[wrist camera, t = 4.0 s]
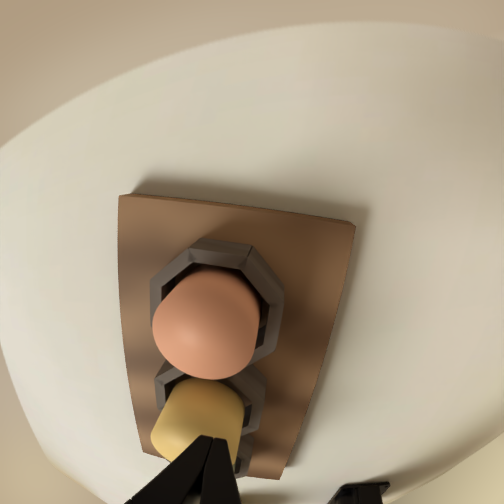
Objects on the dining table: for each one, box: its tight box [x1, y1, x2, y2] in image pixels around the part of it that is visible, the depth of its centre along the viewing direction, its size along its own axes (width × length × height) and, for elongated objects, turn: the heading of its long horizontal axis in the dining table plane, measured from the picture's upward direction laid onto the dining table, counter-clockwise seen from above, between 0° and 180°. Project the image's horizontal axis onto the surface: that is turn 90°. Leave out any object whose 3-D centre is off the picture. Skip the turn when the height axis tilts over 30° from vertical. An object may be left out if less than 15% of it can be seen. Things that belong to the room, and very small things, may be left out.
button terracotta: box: [152, 264, 262, 379], centre depth 15 cm, size 5×5×4 cm
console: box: [118, 194, 356, 480], centre depth 19 cm, size 25×14×4 cm, turn 173°
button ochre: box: [151, 378, 245, 465], centre depth 16 cm, size 5×5×4 cm
